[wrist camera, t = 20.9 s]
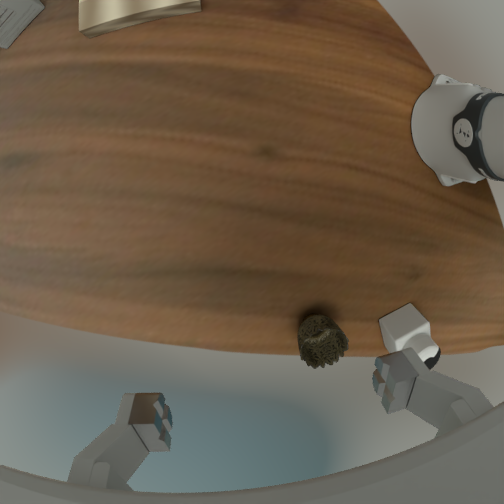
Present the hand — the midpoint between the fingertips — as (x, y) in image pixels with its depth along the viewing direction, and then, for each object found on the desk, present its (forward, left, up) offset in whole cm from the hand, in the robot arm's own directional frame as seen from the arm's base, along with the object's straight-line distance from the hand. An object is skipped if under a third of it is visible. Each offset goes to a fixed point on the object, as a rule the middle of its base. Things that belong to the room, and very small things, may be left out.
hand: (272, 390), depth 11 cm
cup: (-10, +22, -34) cm, 42 cm away
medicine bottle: (-27, +27, -34) cm, 51 cm away
